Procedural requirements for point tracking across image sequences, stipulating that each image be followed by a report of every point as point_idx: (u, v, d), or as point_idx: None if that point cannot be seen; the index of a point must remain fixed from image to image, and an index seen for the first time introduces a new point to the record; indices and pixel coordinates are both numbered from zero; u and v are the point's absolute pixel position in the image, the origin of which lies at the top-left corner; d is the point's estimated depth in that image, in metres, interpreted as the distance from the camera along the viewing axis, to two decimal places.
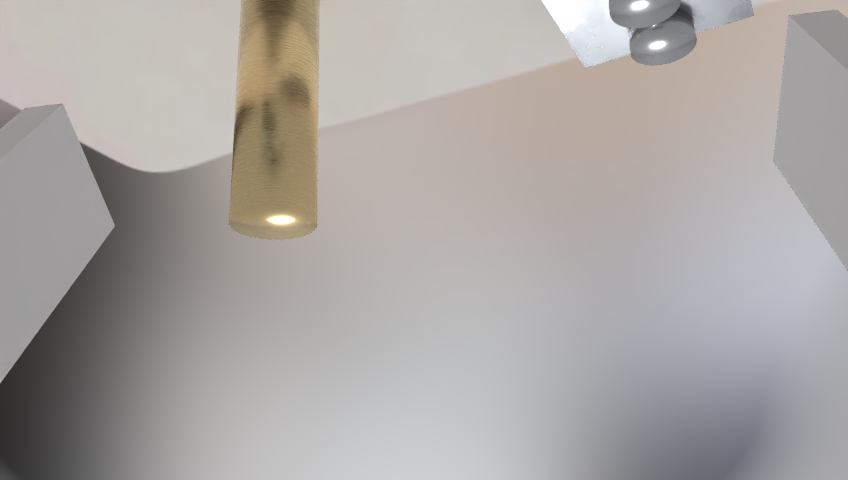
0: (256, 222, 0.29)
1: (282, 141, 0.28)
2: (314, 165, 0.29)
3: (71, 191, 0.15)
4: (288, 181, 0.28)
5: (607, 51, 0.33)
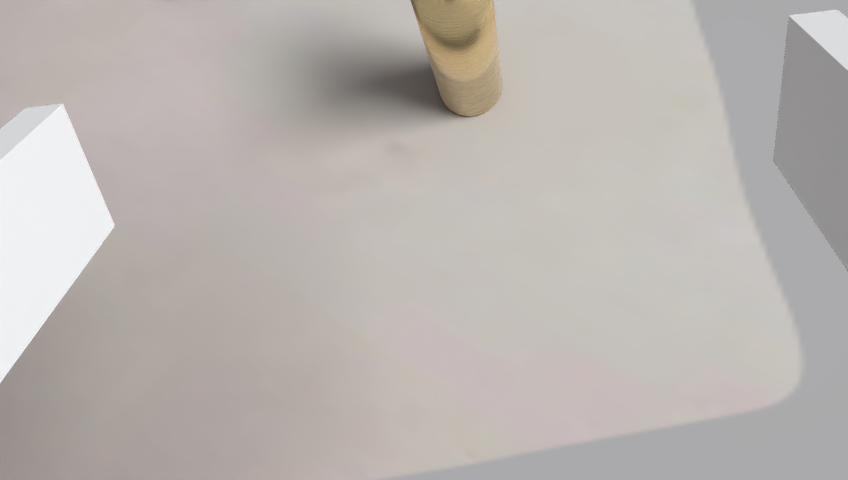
0: None
1: None
2: None
3: (71, 191, 0.15)
4: None
5: None
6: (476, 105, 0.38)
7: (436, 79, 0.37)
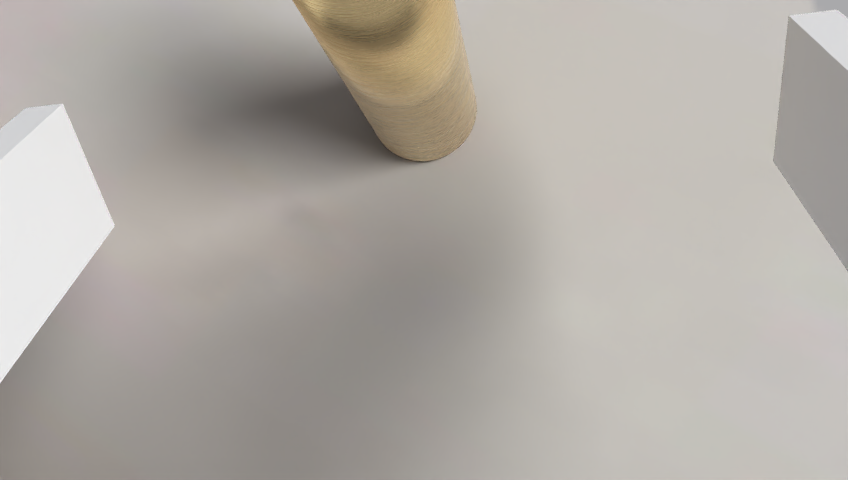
0: None
1: None
2: None
3: (71, 191, 0.15)
4: None
5: None
6: (431, 144, 0.22)
7: None
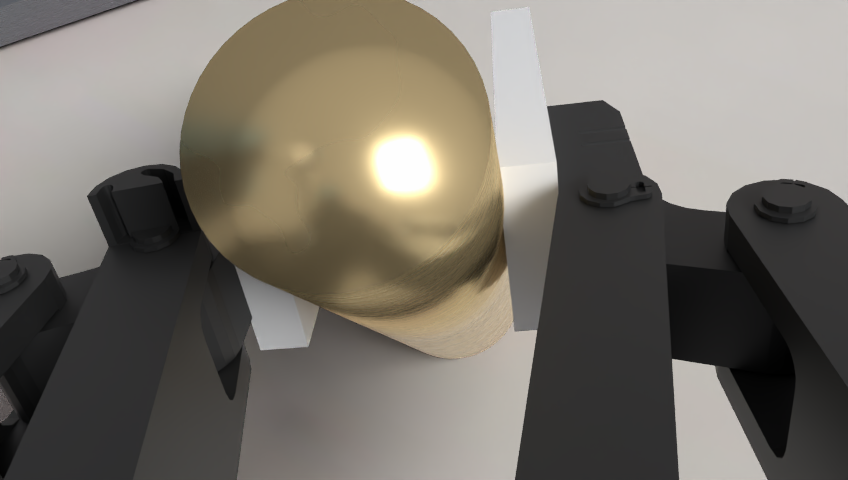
0: (296, 187, 0.08)
1: None
2: None
3: None
4: None
5: None
6: (464, 352, 0.17)
7: None
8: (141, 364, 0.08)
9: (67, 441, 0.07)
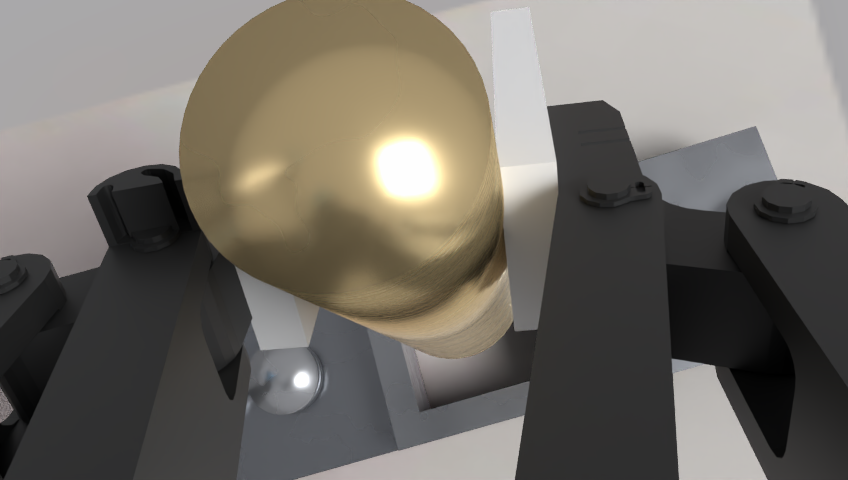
0: (296, 187, 0.08)
1: None
2: None
3: None
4: None
5: None
6: (464, 352, 0.17)
7: None
8: (140, 364, 0.08)
9: (67, 441, 0.07)
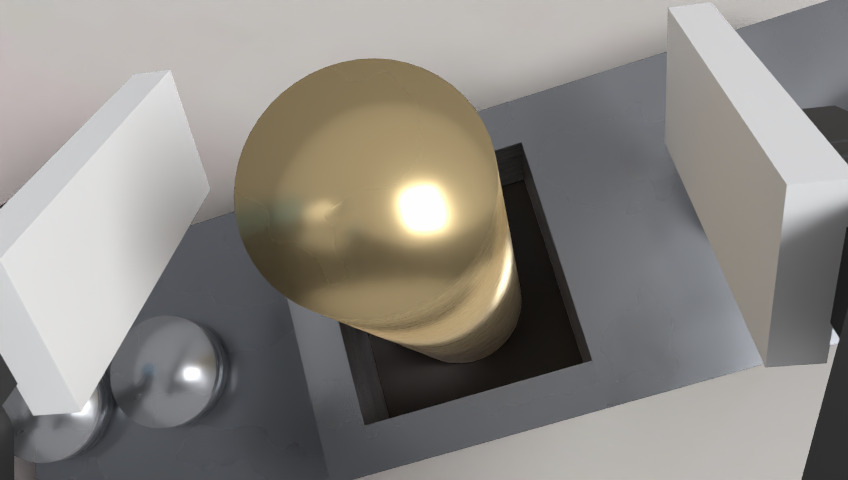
0: (334, 229, 0.09)
1: None
2: None
3: (178, 153, 0.15)
4: None
5: None
6: (470, 358, 0.18)
7: None
8: None
9: None
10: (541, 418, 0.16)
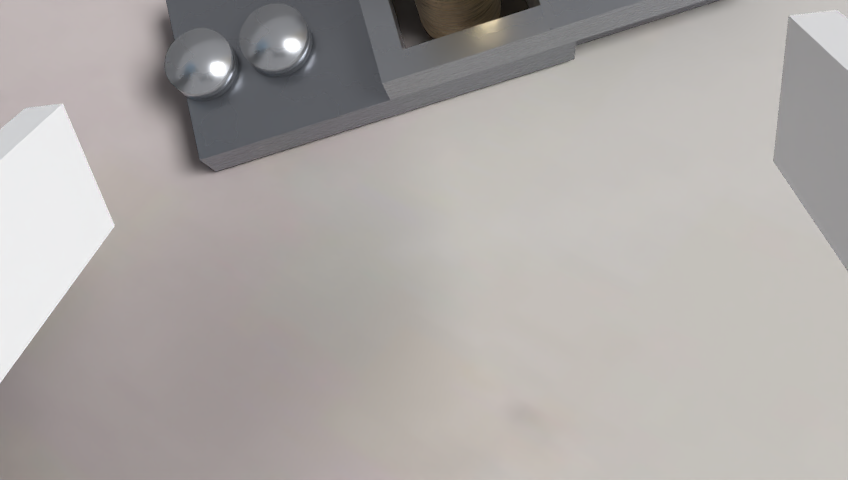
0: None
1: None
2: None
3: (71, 191, 0.15)
4: None
5: None
6: (467, 28, 0.29)
7: None
8: None
9: None
10: (509, 38, 0.27)
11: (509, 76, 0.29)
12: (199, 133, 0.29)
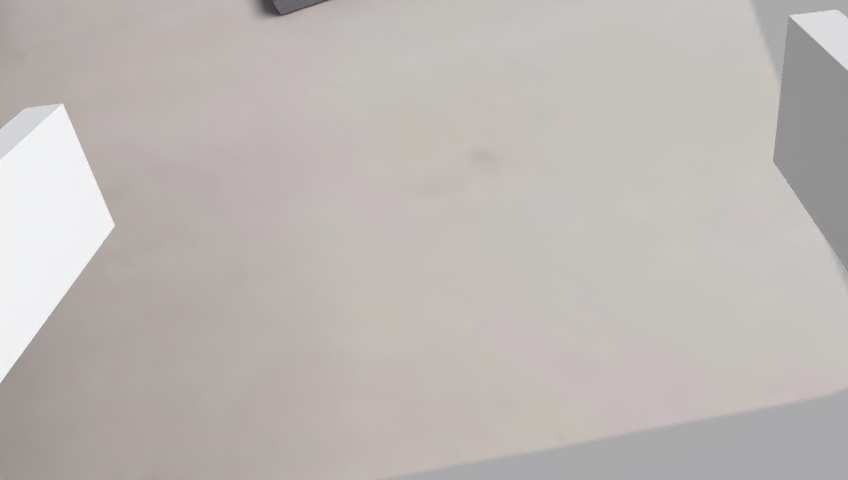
0: None
1: None
2: None
3: (71, 191, 0.15)
4: None
5: None
6: None
7: None
8: None
9: None
10: None
11: None
12: None
